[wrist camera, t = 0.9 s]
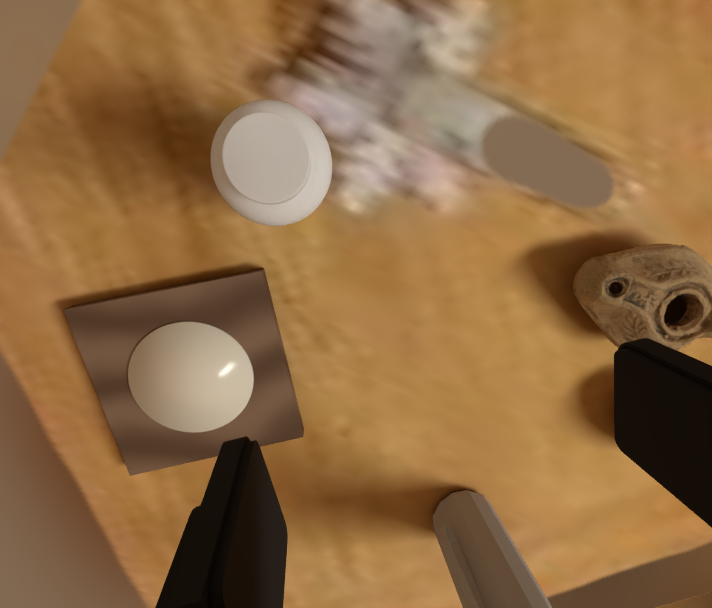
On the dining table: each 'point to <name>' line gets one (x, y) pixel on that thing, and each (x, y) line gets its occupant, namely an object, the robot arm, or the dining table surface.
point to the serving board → (188, 369)
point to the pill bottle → (271, 162)
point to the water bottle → (483, 555)
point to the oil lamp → (648, 294)
